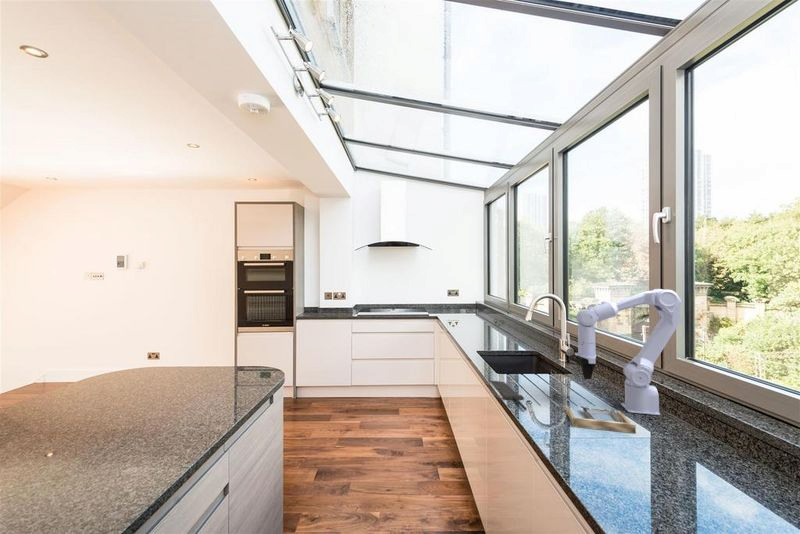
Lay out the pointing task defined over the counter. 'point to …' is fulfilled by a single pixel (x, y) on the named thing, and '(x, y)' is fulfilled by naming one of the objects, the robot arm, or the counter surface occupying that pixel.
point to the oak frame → (603, 423)
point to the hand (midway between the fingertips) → (587, 378)
